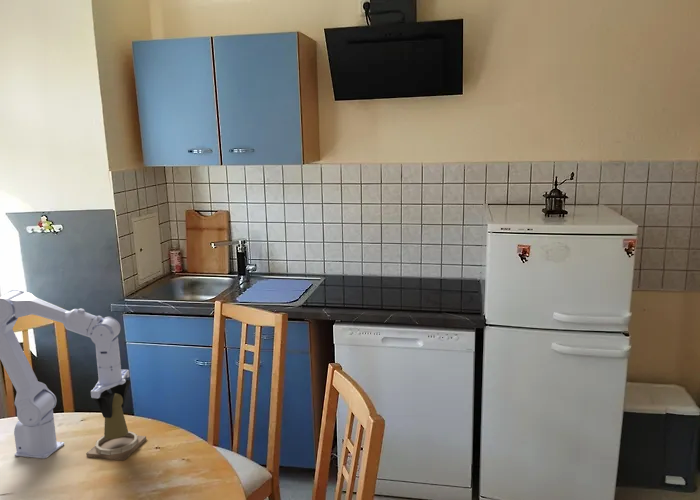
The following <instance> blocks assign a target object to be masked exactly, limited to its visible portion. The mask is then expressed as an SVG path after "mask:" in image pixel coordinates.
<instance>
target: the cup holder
mask: <svg viewBox="0 0 700 500" xmlns="http://www.w3.org/2000/svg"><path fill="white" fill-rule="evenodd" d="M146 440H147V436H146V435H138V434H137V433H135V432H133V431H130V430H128V433H127V434H126V435H125V436H123V437H120V438H116V439H107V438H105V437H104V435H103V436H101V437H100V438H98V439H97V440H96V441H95V445H94V446H93V447H92V448H90V449H89V450H88V451H87V452H86V453H85V454H86V457H87V458H95V459H108V460H115V461H116V460H118V461H125V460H127V458H128V457H130V456H131V455H132V454H133V453H134V452H135V451H137V449H138V448H139V447H140V446H141V445H143V443H144V442H145V441H146Z"/></svg>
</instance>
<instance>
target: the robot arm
mask: <svg viewBox="0 0 700 500" xmlns="http://www.w3.org/2000/svg"><path fill="white" fill-rule="evenodd" d="M29 315H34V316H37V317H40V318H43V319H44V318H45V319H47V320H50V321H55V322H57V323H61V324H63V326H64V328H65V330H67V331H70V332H73V333H76V334H78V335H81V336H83V337H88V338H90V340H91V342H92V343H93V344H94V345H95V355H96V356H95V357H96V365H97V366H96V367H97V374H98V375H97V376H98V380H97V383H96V384H95V385H94V387H93V389H91V390H90V396H91V397H90V398H91V399H93V401H94V402H95V403H96V404H97V406H98V408H99V409H100V411H101V414H102V416H103V417H102V418H104V419H105V418H111V417H112V403H113V398H114V395H115V394H114V393H117V394H120V395H121V396H122V398H123V404H122V405H121V406H122V409H123V408H125V403H126V402H125V401H126V397H127V393H128V389H129V387H130V385H131V381H130V380H129V379H126V378H130V370H129V369H122V365H121V364H122V363H121V362H122V361H121V352H120V344H119V334H120V332H121V324H120V322H119V321H118V320H117V319H116V318H114V317H113V316H105V317H103V316H102V315H94V314H91V313H90V312H88V311H87V312H86V310H85V309H84V308H73V309H71V310H67V309H65V308H63V307H60V306H58V305H56V304H53V303H51V302H49V301H45V300H43V299H41V298H39V297H36V296H35V295H34V294H33V293H31V292H27V291H24V290H22V289H19V288H18V289H12V290H10V291H8V292H7V293H4V294H3V295H1V296H0V361H1V364H2V366H3V368H4V369H5V371H6V373H7V375H8V378H9V379H10V382H11V383H12V385H13V387H14V389H15V391H16V395H15V400H14V406H15V408H16V417H17V420H18V421H17V422H16V424H15V427H14V430H13V431H14V432H13V436H14V442H15V443H14V444H15V450H16V452H15V453H14V456H16V457H23V458H24V457H25V458H32V459H33V458H35V459H47V458H49V457H50V456H51V455H52V454H54V453H55V452H56V451H57V450H59V449H60V448H61V447H62V446H64V445H65V442H64V441H57V435H56V434H57V433H56V426H55V418H54V408H55V407H56V405H57V396H56V395H55V394H54V393H53V392H52V391H51V390H50V389H49V388H48V386H47V384H45V383H44V382H42V381H38V378H37V376H36V373H35V372H34V370H33V367H32V366H31V363H30V362H29V360H28V358H27V356H26V354H25V352H24V349H23V347H22V346H21V343H20V342H19V340H18V338H17V336H16V333H15V331H14V327H15V325H16V322H17V321H18V319H19V318H22V317H25V316H29ZM109 390H110V391H111V392H109Z"/></svg>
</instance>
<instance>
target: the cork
mask: <svg viewBox="0 0 700 500" xmlns="http://www.w3.org/2000/svg"><path fill="white" fill-rule="evenodd" d="M114 394H115V395H114V398H113V403H112V417H111V418H104V427H103V428H104V429H103V431H104V434H103V436H104V437H105V438H107V439H116V438H120V437H123V436H125V435H126V434H127V433H128V431H129V430H128V426H127V423H126V418H125V415H124V414H125V413H124V411H123V408H122V406H121V405H122V404H123V398H122V396H121V395H120V394H117V393H114Z"/></svg>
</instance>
